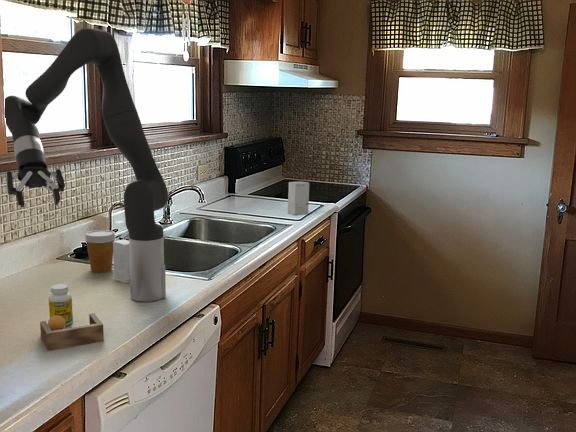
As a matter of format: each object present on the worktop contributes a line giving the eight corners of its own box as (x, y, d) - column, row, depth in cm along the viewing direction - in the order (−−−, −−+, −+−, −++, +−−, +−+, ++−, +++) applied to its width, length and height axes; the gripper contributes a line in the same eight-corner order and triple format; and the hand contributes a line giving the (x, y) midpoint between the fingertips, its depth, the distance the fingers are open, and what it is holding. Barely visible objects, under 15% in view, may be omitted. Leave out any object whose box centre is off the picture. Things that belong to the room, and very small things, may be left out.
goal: (94, 328, 155) (94, 313, 154) (103, 340, 148) (103, 324, 147) (40, 337, 148) (40, 321, 148) (47, 350, 142) (46, 333, 141)
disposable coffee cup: (91, 265, 207) (90, 229, 205) (120, 266, 207) (119, 230, 204) (81, 273, 198) (79, 236, 195) (111, 274, 197) (110, 237, 195)
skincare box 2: (294, 215, 293) (295, 183, 289) (286, 213, 297) (287, 181, 294) (309, 213, 297) (310, 182, 294) (301, 211, 302) (302, 180, 299)
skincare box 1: (137, 280, 192) (137, 242, 190) (126, 283, 189) (125, 244, 187) (124, 276, 196) (123, 238, 193) (113, 279, 193) (112, 241, 190)
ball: (57, 310, 154) (55, 312, 150) (69, 321, 155) (68, 323, 151) (45, 323, 153) (43, 325, 149) (58, 334, 154) (56, 336, 150)
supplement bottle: (69, 318, 161) (68, 281, 159) (75, 325, 157) (74, 287, 155) (47, 321, 158) (45, 285, 156) (52, 329, 154) (51, 291, 152)
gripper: (2, 148, 169) (11, 198, 161) (58, 146, 176) (69, 194, 169) (1, 165, 174) (10, 214, 167) (55, 163, 181) (66, 210, 174)
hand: (40, 204), depth 168 cm, fingers open, 8 cm apart
